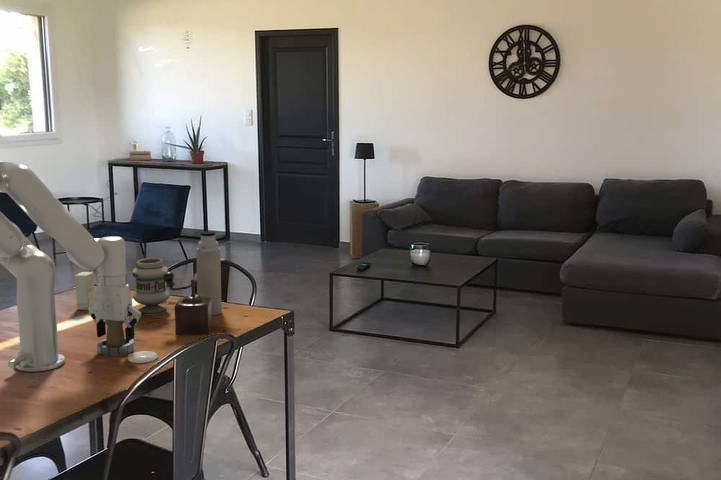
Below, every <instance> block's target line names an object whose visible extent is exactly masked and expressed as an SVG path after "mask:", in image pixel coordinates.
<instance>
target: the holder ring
mask: <svg viewBox="0 0 721 480" xmlns="http://www.w3.org/2000/svg"><path fill="white" fill-rule="evenodd" d="M125 341H126V336H125ZM96 345H97V346H96V347H97V348H96V349H97V354H99V355H101V356H104V357H120V356H125V355H130V354H132V353H134V350H135V339H132V340H130V341H126V344H125V345H122V346H113V347H110V346H106V338H104V339H102V340H99V341H98V343H97V344H96Z"/></svg>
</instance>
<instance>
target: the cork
mask: <svg viewBox="0 0 721 480" xmlns="http://www.w3.org/2000/svg"><path fill="white" fill-rule="evenodd" d="M104 321H105V324H106V326H107V328H106V338H105V339H106V346H110V347H113V346H122V345H125V344H126V341H125V337H126V335H125V330H124V327H123V324H125V323H124V322H123V321H111V320H104Z"/></svg>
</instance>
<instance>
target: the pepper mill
mask: <svg viewBox="0 0 721 480" xmlns="http://www.w3.org/2000/svg"><path fill="white" fill-rule="evenodd" d="M162 278H163V280H164V281H165V287H166V288H168V289H169V290H170V291H181V290H186V289H189V288H191V294H189V295H187V296H185V297H180V298H179V299H178V301H177V302H176V303H175V305H174V323H175V324H174V325H175V326H174V327H175V329H174V331H175V335H176V336H203V334H207V335H209V334H210V332H211V330H212V328H213V319H212V317H213V315H212V303H211V301H212V299H211V298H205V297H201V296H199V295H197V292H195V287H196V283H195V279H191V280H190V284H189V285H185V286H179V287H174V286H175V285H176V283H175V282H174V278H175V274H174V273H173V272H171V271H168V272H166V273H164V274H163V276H162Z"/></svg>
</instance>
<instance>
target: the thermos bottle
mask: <svg viewBox="0 0 721 480" xmlns="http://www.w3.org/2000/svg"><path fill="white" fill-rule="evenodd" d="M197 244H198V245H197V246H198V247H197V248H196V252H195V253H196V257H195V258H196V283H197V284H196V285H197V286H196V287H197V288H196V289H197V291H196V295H199V296H201V297H205V298H211V299H212V301H211V303H212V316H217V315H220V314H221V313H222V312H223V311H222V310H223V309H222V279H221V278H222V271H221V270H222V266H221V264H222V262H221V261H222V260H221V256H222V255H221V248H220V247H219V241H218V240H216V232H215V231H202V232H200V240H199V241H198V243H197Z"/></svg>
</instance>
